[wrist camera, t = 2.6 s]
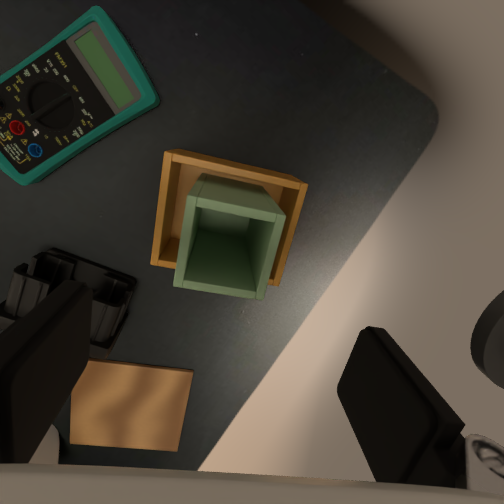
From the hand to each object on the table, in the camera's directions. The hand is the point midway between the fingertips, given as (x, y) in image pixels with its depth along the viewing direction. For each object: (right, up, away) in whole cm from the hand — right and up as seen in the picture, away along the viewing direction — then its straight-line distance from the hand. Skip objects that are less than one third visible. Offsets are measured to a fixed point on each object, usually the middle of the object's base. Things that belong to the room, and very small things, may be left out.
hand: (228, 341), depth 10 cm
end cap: (-17, -1, +22) cm, 28 cm away
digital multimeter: (-15, +16, +16) cm, 27 cm away
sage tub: (-2, +7, +19) cm, 21 cm away
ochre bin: (-2, +8, +20) cm, 21 cm away
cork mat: (-15, -17, +28) cm, 36 cm away
